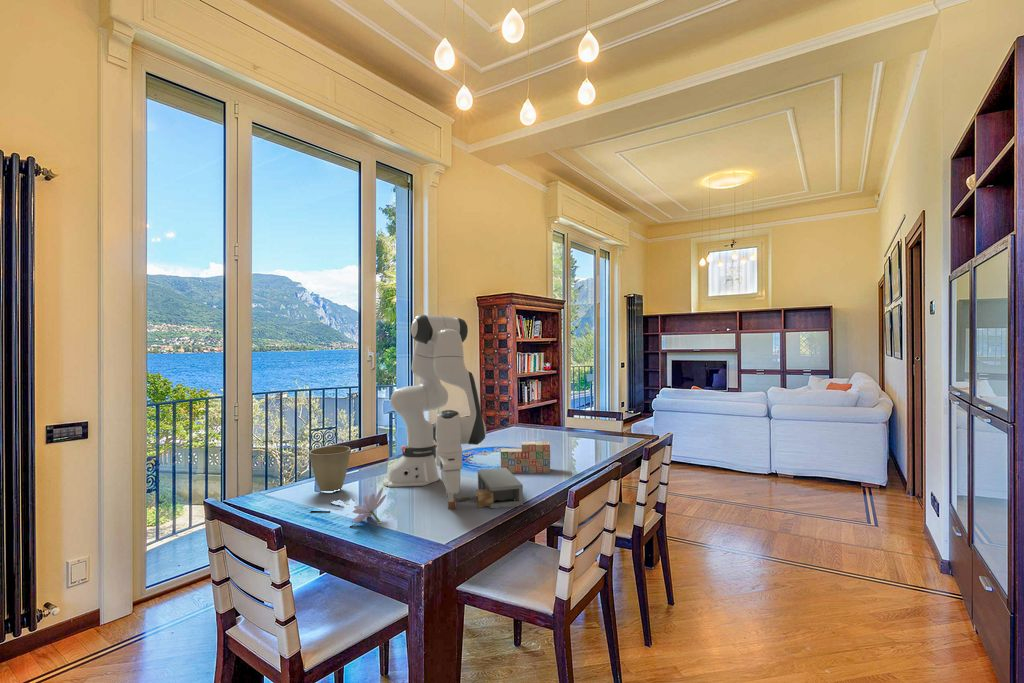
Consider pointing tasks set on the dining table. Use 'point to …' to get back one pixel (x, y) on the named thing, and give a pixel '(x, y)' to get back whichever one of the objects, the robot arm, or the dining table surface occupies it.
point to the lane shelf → (501, 486)
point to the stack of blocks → (527, 458)
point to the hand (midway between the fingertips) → (450, 499)
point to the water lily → (368, 507)
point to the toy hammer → (475, 499)
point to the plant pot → (330, 466)
